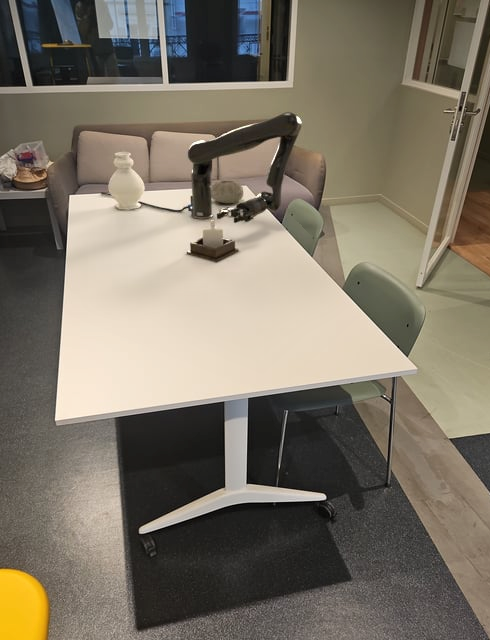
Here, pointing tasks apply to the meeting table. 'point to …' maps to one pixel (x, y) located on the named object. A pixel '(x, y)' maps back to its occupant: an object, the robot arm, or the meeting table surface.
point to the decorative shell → (227, 191)
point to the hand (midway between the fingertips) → (225, 218)
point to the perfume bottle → (213, 236)
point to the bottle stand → (212, 250)
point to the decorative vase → (126, 183)
